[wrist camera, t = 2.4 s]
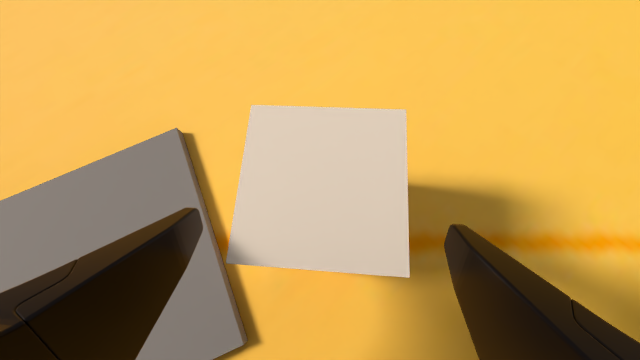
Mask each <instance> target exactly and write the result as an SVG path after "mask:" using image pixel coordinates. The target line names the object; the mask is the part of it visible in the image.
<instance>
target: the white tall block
mask: <svg viewBox="0 0 640 360" xmlns="http://www.w3.org/2000/svg"><path fill="white" fill-rule="evenodd" d="M226 263H228V264H241V265H254V266H266V267H279V268H292V269H305V270H318V271H330V272H343V273H356V274H369V275H381V276H394V277H407V278H410V270H409V223H408V177H407V130H406V110H401V109H367V108H334V107H301V106H268V105H251V111H250V117H249V123H248V130H247V136H246V142H245V148H244V154H243V160H242V167H241V173H240V179H239V185H238V191H237V197H236V204H235V210H234V216H233V222H232V228H231V234H230V241H229V247H228V253H227V259H226Z"/></svg>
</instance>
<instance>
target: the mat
mask: <svg viewBox="0 0 640 360" xmlns="http://www.w3.org/2000/svg"><path fill="white" fill-rule="evenodd" d="M186 207H190V208H197V209H198V210H199V212H200V216H201V220H202V223H203V232H202V234H201V236H200V239H199V241H198V243H197V246H196V248H195V250H194V253H193V255H192V257H191V260H190V262H189V264H188V266H187V268H186V270H185V272H184V274H183V276H182V278H181V279H180V281H179V283H178V285H177V287H176V288H175V290H174V292H173V294H172V295H171V297H170V299H169V301H168V303H167V304H166V306H165V308H164V310H163V311H162V313H161V315H160V317H159V319H158V320H157V322H156V324H155V326H154V327H153V329H152V331H151V333H150V335H149V336H148V338H147V340H146V342H145V343H144V345H143V347H142V349H141V351H140V352H139V354H138V356H137V358H136V359H135V360H213V359H215V358H217V357H219V356H221V355H223V354H225V353H227V352H229V351H232V350H234V349H236V348H238V347H240V346H242V345H244V344H245V343H246V342H247V341H248V340H247V337H246V333H245V330H244V327H243V324H242V321H241V318H240V314H239V311H238V308H237V305H236V302H235V298H234V295H233V292H232V289H231V286H230V283H229V279H228V276H227V273H226V270H225V267H224V264H223V260H222V257H221V254H220V251H219V248H218V245H217V241H216V238H215V235H214V232H213V229H212V226H211V222H210V219H209V216H208V213H207V210H206V207H205V203H204V200H203V197H202V194H201V191H200V187H199V184H198V181H197V178H196V175H195V172H194V168H193V165H192V162H191V159H190V156H189V153H188V149H187V146H186V143H185V140H184V137H183V134H182V132H181V131H180V130H178V129H177V128H175V129H172V130H170V131H168V132H165V133H163V134H160V135H158V136H156V137H153V138H151V139H148V140H146V141H143V142H141V143H139V144H136V145H134V146H131V147H129V148H127V149H124V150H122V151H119V152H117V153H115V154H112V155H110V156H107V157H105V158H103V159H100V160H98V161H95V162H93V163H90V164H88V165H86V166H83V167H81V168H78V169H76V170H74V171H71V172H69V173H66V174H64V175H62V176H59V177H57V178H54V179H52V180H50V181H47V182H45V183H42V184H40V185H37V186H35V187H33V188H30V189H28V190H25V191H23V192H21V193H18V194H16V195H13V196H11V197H9V198H6V199H4V200H1V201H0V293H1V292H3V291H6V290H8V289H11V288H13V287H15V286H18V285H20V284H22V283H25V282H27V281H29V280H32V279H34V278H36V277H38V276H41V275H43V274H45V273H47V272H49V271H52V270H54V269H56V268H58V267H60V266H63V265H65V264H67V263H69V262H71V261H73V260H75V259H79V258H80V257H82V256H84V255H86V254H88V253H90V252H92V251H95V250H97V249H99V248H101V247H103V246H105V245H107V244H109V243H111V242H114V241H116V240H118V239H120V238H122V237H124V236H126V235H128V234H131V233H133V232H135V231H137V230H139V229H141V228H143V227H145V226H148V225H150V224H152V223H154V222H156V221H158V220H160V219H162V218H164V217H167V216H169V215H171V214H173V213H175V212H177V211H179V210H181V209H184V208H186Z"/></svg>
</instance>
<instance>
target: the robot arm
mask: <svg viewBox="0 0 640 360" xmlns="http://www.w3.org/2000/svg"><path fill="white" fill-rule="evenodd" d="M202 232H203V223H202V220H201V216H200V212H199V210H198V209H197V208H190V207H186V208H184V209H181V210H179V211H177V212H175V213H173V214H171V215H169V216H167V217H164V218H162V219H160V220H158V221H156V222H154V223H152V224H150V225H148V226H145V227H143V228H141V229H139V230H137V231H135V232H133V233H131V234H128V235H126V236H124V237H122V238H120V239H118V240H116V241H114V242H111V243H109V244H107V245H105V246H103V247H101V248H99V249H97V250H95V251H92V252H90V253H88V254H86V255H84V256H82V257H80V258H79V259H75V260H73V261H71V262H69V263H67V264H65V265H63V266H60V267H58V268H56V269H54V270H52V271H49V272H47V273H45V274H43V275H41V276H38V277H36V278H34V279H32V280H29V281H27V282H25V283H22V284H20V285H18V286H15V287H13V288H11V289H8V290H6V291H3V292H1V293H0V360H135V359H136V358H137V356H138V354H139V352H140V351H141V349H142V347H143V345H144V343H145V342H146V340H147V338H148V336H149V335H150V333H151V331H152V329H153V327H154V326H155V324H156V322H157V320H158V319H159V317H160V315H161V313H162V311H163V310H164V308H165V306H166V304H167V303H168V301H169V299H170V297H171V295H172V294H173V292H174V290H175V288H176V287H177V285H178V283H179V281H180V279H181V278H182V276H183V274H184V272H185V270H186V268H187V266H188V264H189V262H190V260H191V257H192V255H193V253H194V250H195V248H196V246H197V243H198V241H199V239H200V236H201V234H202ZM444 248H445V253H446V257H447V261H448V266H449V270H450V274H451V278H452V283H453V286H454V290H455V293H456V296H457V299H458V302H459V304H460V307H461V310H462V313H463V316H464V318H465V321H466V324H467V327H468V329H469V332H470V335H471V338H472V341H473V343H474V346H475V349H476V352H477V354H478V357H479V360H640V343H639V342H637V341H636V340H634V339H633V338H631V337H629V336H628V335H626V334H625V333H623V332H621V331H620V330H618V329H617V328H615V327H613V326H612V325H610V324H609V323H607V322H606V321H604V320H603V319H601V318H600V317H598V316H597V315H595V314H594V313H592V312H591V311H589V310H588V309H587V308H585V307H584V306H582V305H581V304H579V303H578V302H576V301H575V300H573V299H572V300H571V298H570V297H569V296H568V295H566V294H565V293H563V292H562V291H560V290H559V289H557V288H556V287H554V286H553V285H551V284H550V283H549V282H547V281H546V280H544V279H543V278H541V277H540V276H538V275H537V274H535V273H534V272H532V271H531V270H530V269H528V268H527V267H525V266H524V265H522V264H521V263H519V262H518V261H516V260H515V259H514V258H512V257H511V256H509V255H508V254H506V253H505V252H503V251H502V250H500V249H499V248H497V247H496V246H495V245H493V244H492V243H490V242H489V241H487V240H486V239H484V238H483V237H481V236H480V235H478V234H477V233H476V232H474V231H473V230H471V229H470V228H468V227H467V226H465V225H462V224H452V225H450V227H449V230H448V233H447V236H446V239H445V243H444Z"/></svg>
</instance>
